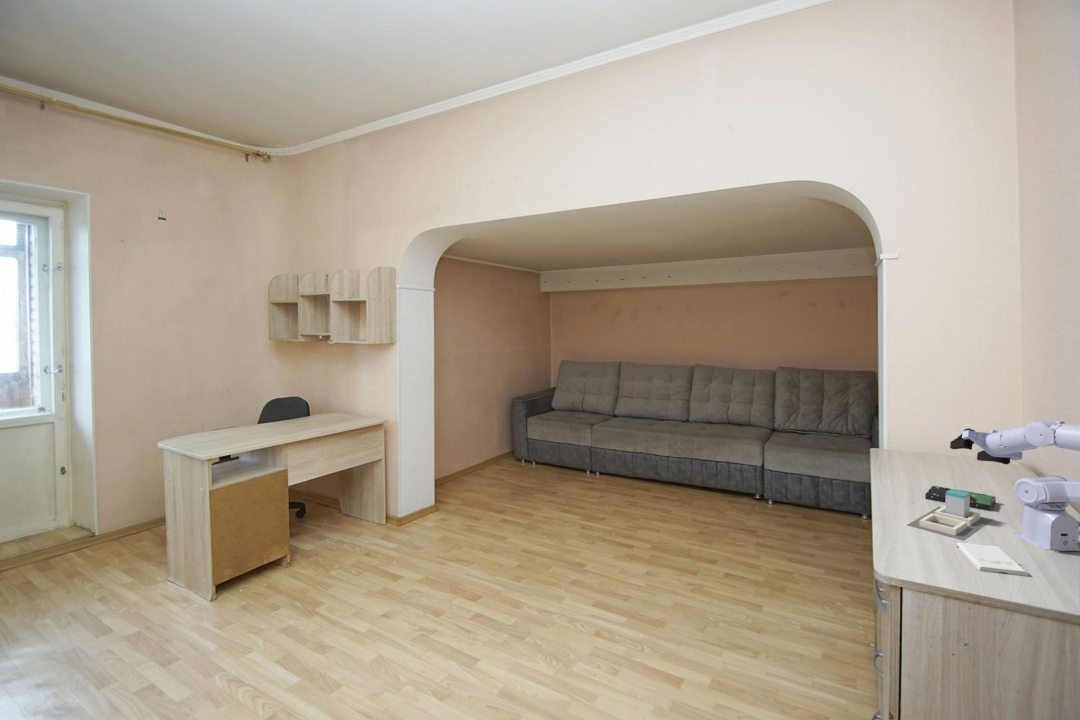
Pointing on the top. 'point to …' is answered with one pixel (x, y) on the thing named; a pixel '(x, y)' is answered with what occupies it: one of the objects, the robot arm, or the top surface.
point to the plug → (957, 503)
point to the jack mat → (962, 534)
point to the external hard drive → (991, 559)
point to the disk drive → (975, 498)
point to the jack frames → (948, 521)
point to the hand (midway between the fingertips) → (964, 450)
